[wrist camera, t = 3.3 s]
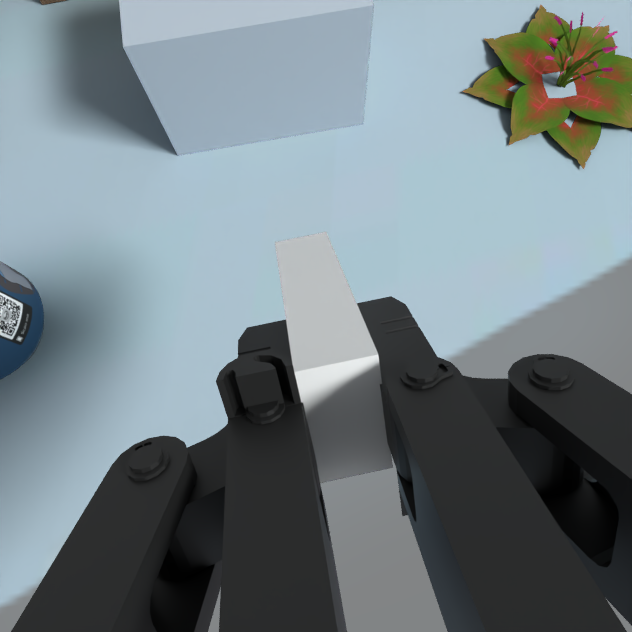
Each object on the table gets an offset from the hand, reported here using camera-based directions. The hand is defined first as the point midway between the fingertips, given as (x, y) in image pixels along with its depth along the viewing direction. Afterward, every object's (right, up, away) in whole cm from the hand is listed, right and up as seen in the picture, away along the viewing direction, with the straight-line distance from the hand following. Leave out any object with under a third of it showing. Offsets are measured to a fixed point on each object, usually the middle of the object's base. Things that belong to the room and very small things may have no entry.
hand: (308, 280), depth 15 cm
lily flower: (+16, +14, +19) cm, 28 cm away
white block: (-3, +14, +19) cm, 24 cm away
